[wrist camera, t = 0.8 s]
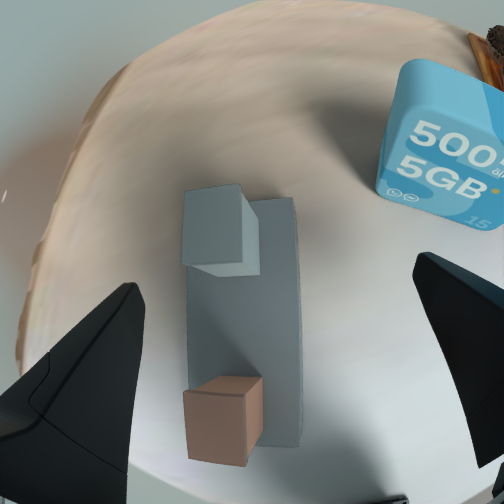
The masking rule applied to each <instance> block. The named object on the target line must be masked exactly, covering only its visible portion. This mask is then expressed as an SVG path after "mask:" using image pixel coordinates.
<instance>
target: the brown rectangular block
mask: <svg viewBox="0 0 504 504" xmlns="http://www.w3.org/2000/svg"><path fill="white" fill-rule="evenodd" d="M183 402H184V416H185V428H186V439H187V449H188V459H193V460H199V461H204V462H210V463H217V464H224V465H232V466H240V467H245V466H246V464H247V462H248V456H249V454H250V452H251V451H252V449H253V447H254V445H255V444H256V442H257V440H258V438H259V437H260V435H261V433H262V431H263V377H240V376H218V377H216V378H215V379H213V380H211V381H209V382H207V383H205V384H203V385H201V386H199V387H197V388H196V389H194V390H186V391H184V392H183Z"/></svg>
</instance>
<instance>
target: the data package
mask: <svg viewBox="0 0 504 504" xmlns="http://www.w3.org/2000/svg"><path fill="white" fill-rule="evenodd" d="M375 188H376V191H377V193H378V194H379V195H380V196H382V197H383V198H385V199H387V200H390V201H393V202H397V203H400V204H404V205H407V206H410V207H413V208H417V209H420V210H423V211H426V212H429V213H432V214H435V215H438V216H441V217H444V218H447V219H450V220H453V221H456V222H458V223H461V224H464V225H467V226H469V227H472V228H475V229H478V230H484V231H488V230H493V229H495V228H497V227H499V226H500V225H502V224H504V92H502V91H500V90H498V89H496V88H494V87H492V86H490V85H488V84H486V83H484V82H482V81H480V80H478V79H476V78H473V77H471V76H469V75H467V74H464V73H462V72H459V71H457V70H455V69H452V68H449V67H447V66H444V65H441V64H439V63H436V62H433V61H430V60H426V59H414V60H411V61H408V62H407V63H405V64H404V65H403V66H402V68H401V70H400V73H399V78H398V82H397V87H396V91H395V95H394V99H393V103H392V107H391V111H390V115H389V119H388V123H387V127H386V130H385V134H384V137H383V141H382V144H381V151H380V158H379V166H378V173H377V179H376V186H375Z"/></svg>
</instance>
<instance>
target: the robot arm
mask: <svg viewBox="0 0 504 504" xmlns="http://www.w3.org/2000/svg"><path fill="white" fill-rule="evenodd" d="M412 277H413V281H414V284H415V286H416V289H417V291H418V294H419V296H420V299H421V302H422V304H423V307H424V310H425V313H426V315H427V318H428V320H429V322H430V324H431V327H432V329H433V331H434V333H435V335H436V338H437V340H438V342H439V345H440V347H441V349H442V352H443V354H444V357H445V359H446V362H447V364H448V367H449V370H450V372H451V375H452V378H453V380H454V383H455V386H456V389H457V392H458V395H459V398H460V401H461V404H462V407H463V410H464V413H465V417H466V421H467V424H468V428H469V431H470V435H471V439H472V443H473V447H474V451H475V456H476V460H477V465H478V468H479V469H480V468H481V467H483V466H485V465H487V464H488V463H490V462H492V461H493V460H495V459H496V458H498V457H500V456H501V455H503V454H504V289H502V288H500V287H498V286H496V285H494V284H493V283H491V282H489V281H487V280H485V279H483V278H481V277H479V276H478V275H476V274H474V273H472V272H470V271H468V270H466V269H464V268H462V267H460V266H458V265H456V264H454V263H452V262H450V261H448V260H446V259H444V258H442V257H440V256H438V255H435V254H433V253H431V252H422V253H419V254H418V256H417V259H416V263H415V266H414V270H413V274H412ZM144 319H145V303H144V300H143V297H142V295H141V292H140V290H139V287H138V285H137V284H136V283H135V282H130V283H123V284H122V285H121V286H119V287H118V288H117V289H116V290H115V291H114V292H113V293H111V294H110V295H109V296H108V297H107V298H106V299H105V300H103V301H102V302H101V303H100V304H99V305H98V306H97V307H96V308H94V309H93V310H92V311H91V312H90V313H89V314H88V315H87V316H86V317H84V318H83V319H82V320H81V321H80V322H79V323H78V324H77V325H76V326H75V327H74V328H72V329H71V330H70V331H69V332H68V333H67V334H66V335H65V336H64V337H63V338H62V339H61V340H60V341H59V342H58V343H57V344H56V345H55V346H53V347H52V348H51V349H50V352H47V353H46V354H45V355H44V356H43V357H42V358H41V359H40V360H39V361H38V362H37V363H36V364H35V365H34V366H33V367H32V368H31V369H30V370H29V371H28V372H26V373H25V374H24V375H23V376H22V377H21V378H20V379H19V380H18V381H17V382H15V383H14V384H13V385H12V386H11V387H10V388H8V389H7V390H6V391H5V392H4V393H3V394H2V395H1V396H0V504H126V496H127V471H128V456H129V444H130V434H131V425H132V416H133V408H134V400H135V393H136V386H137V380H138V373H139V367H140V361H141V355H142V346H143V331H144ZM492 494H493V498H494V499H493V500H491V501H490V502H489V503H487V504H504V462H503V463H501V466H500V469H499V473H498V476H497V479H496V481H495V484H494V487H493V490H492ZM403 502H404V503H403ZM374 504H409V499H408V498H401V499H396V500H391V501H386V502H380V503H374Z"/></svg>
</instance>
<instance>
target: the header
mask: <svg viewBox="0 0 504 504" xmlns="http://www.w3.org/2000/svg"><path fill="white" fill-rule="evenodd" d="M248 203H249V205H250V206H251V208H252V210H253V211H254V213H255V214H256V216H257V218H258V220H259V254H260V275H250V276H231V277H217V276H214V275H212V274H210V273H207V272H205V271H202V270H200V269H198V268H195V267H193V266H187V349H188V377H189V390H194V389H196V388H197V387H199V386H201V385H203V384H205V383H207V382H209V381H211V380H213V379H215V378H216V377H218V376H240V377H263V431H262V433H261V435H260V437H259V438H258V440H257V442H256V444H255V445H254V446H268V447H299V446H300V441H301V435H302V403H303V375H302V322H301V295H300V273H299V255H298V239H297V225H296V212H295V207H294V203H293V199H292V197H288V198H278V199H268V200H259V201H250V202H248Z"/></svg>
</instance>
